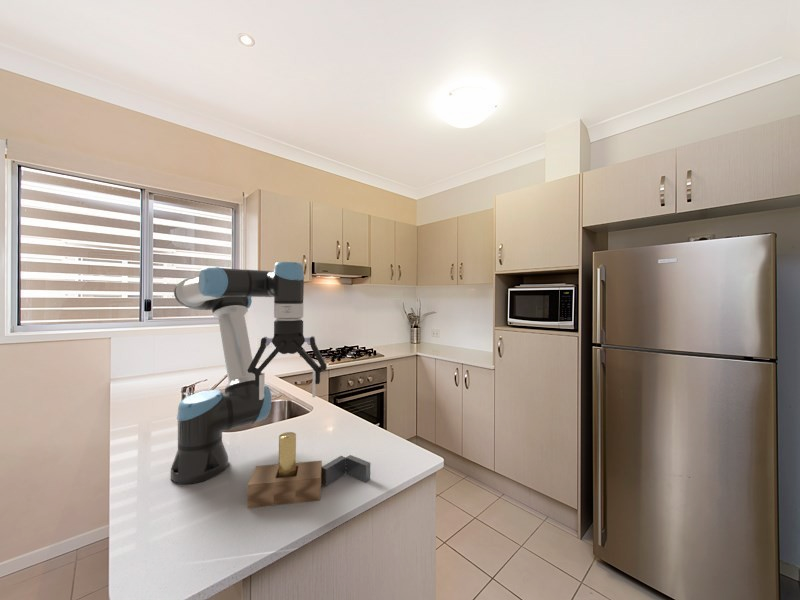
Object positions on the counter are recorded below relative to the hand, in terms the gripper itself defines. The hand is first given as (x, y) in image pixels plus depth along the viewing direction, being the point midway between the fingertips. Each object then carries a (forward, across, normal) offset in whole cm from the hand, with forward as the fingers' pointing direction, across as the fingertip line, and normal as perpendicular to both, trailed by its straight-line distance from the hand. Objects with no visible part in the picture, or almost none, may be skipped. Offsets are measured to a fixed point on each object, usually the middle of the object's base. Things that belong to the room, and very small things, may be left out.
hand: (288, 397), depth 88 cm
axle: (+27, 0, 0) cm, 27 cm away
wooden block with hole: (+27, 0, 0) cm, 27 cm away
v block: (+27, +16, +5) cm, 31 cm away
